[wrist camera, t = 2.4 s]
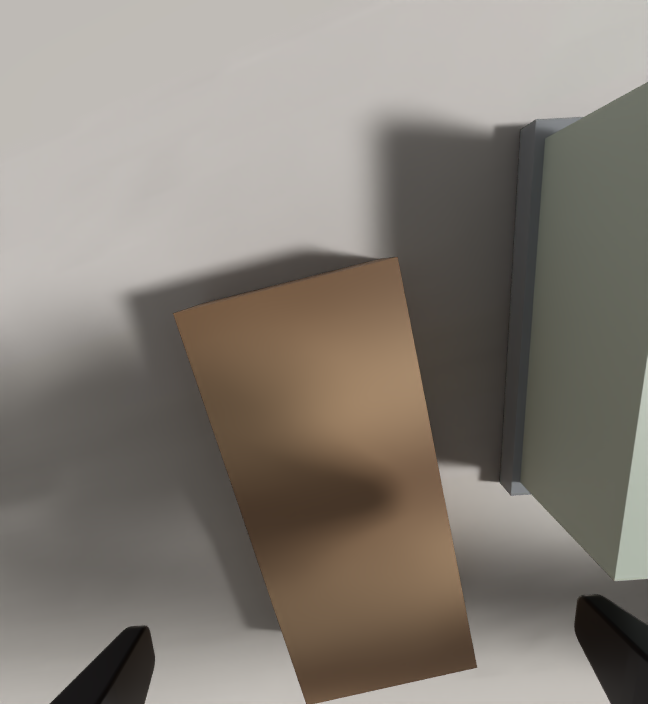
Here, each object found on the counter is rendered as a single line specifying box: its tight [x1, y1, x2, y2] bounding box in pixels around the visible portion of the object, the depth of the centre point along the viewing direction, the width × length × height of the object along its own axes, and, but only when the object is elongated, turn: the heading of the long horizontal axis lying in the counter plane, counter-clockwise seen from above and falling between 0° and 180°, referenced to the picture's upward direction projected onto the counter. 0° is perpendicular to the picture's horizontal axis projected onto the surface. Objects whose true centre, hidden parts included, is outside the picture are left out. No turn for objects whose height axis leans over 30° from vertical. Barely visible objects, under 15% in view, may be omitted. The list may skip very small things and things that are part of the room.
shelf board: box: [173, 257, 477, 704], centre depth 13 cm, size 14×6×3 cm, turn 14°
